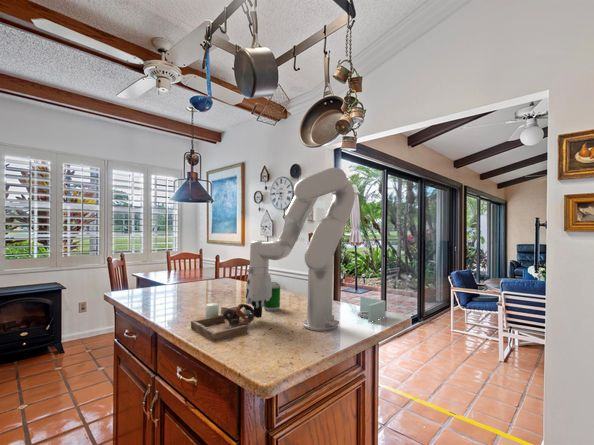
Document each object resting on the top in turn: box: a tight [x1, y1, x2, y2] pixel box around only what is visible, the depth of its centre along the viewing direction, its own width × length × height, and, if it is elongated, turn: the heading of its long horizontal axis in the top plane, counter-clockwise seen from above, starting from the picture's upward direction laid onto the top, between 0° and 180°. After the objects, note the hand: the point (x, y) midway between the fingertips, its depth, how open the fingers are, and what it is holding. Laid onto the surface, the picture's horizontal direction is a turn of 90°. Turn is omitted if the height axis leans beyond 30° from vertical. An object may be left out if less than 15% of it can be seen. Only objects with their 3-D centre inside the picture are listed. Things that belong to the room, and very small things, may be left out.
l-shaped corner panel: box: [357, 295, 387, 323], centre depth 131 cm, size 12×12×8 cm
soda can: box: [262, 281, 281, 312], centre depth 140 cm, size 8×8×12 cm
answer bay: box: [190, 314, 248, 342], centre depth 111 cm, size 17×13×3 cm
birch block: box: [220, 304, 238, 316], centre depth 127 cm, size 4×4×4 cm
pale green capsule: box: [205, 302, 220, 318], centre depth 123 cm, size 5×5×6 cm
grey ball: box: [242, 307, 252, 316], centre depth 131 cm, size 4×4×4 cm
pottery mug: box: [223, 303, 255, 326], centre depth 118 cm, size 12×10×8 cm
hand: (257, 316), depth 123 cm, fingers closed
